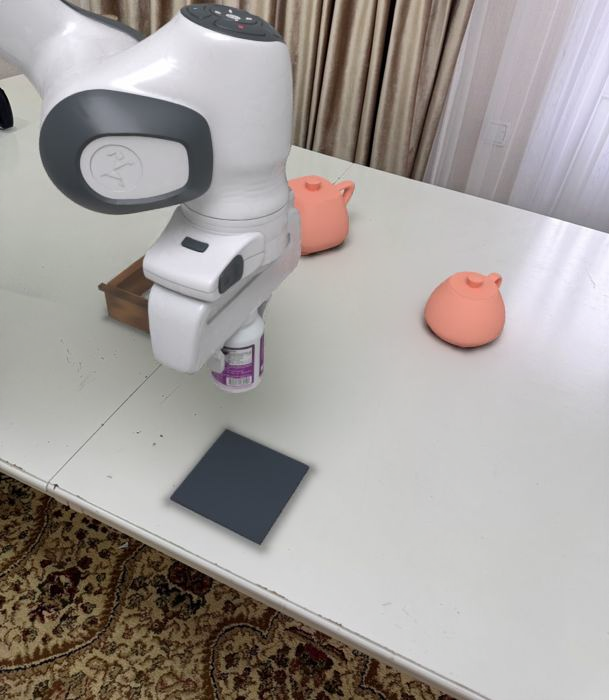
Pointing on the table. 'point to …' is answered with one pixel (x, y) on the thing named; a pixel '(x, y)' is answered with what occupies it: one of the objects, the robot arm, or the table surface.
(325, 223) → the teapot
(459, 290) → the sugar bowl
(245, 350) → the pill bottle
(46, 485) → the table surface
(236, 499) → the coaster
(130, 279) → the wooden square frame
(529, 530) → the table surface
